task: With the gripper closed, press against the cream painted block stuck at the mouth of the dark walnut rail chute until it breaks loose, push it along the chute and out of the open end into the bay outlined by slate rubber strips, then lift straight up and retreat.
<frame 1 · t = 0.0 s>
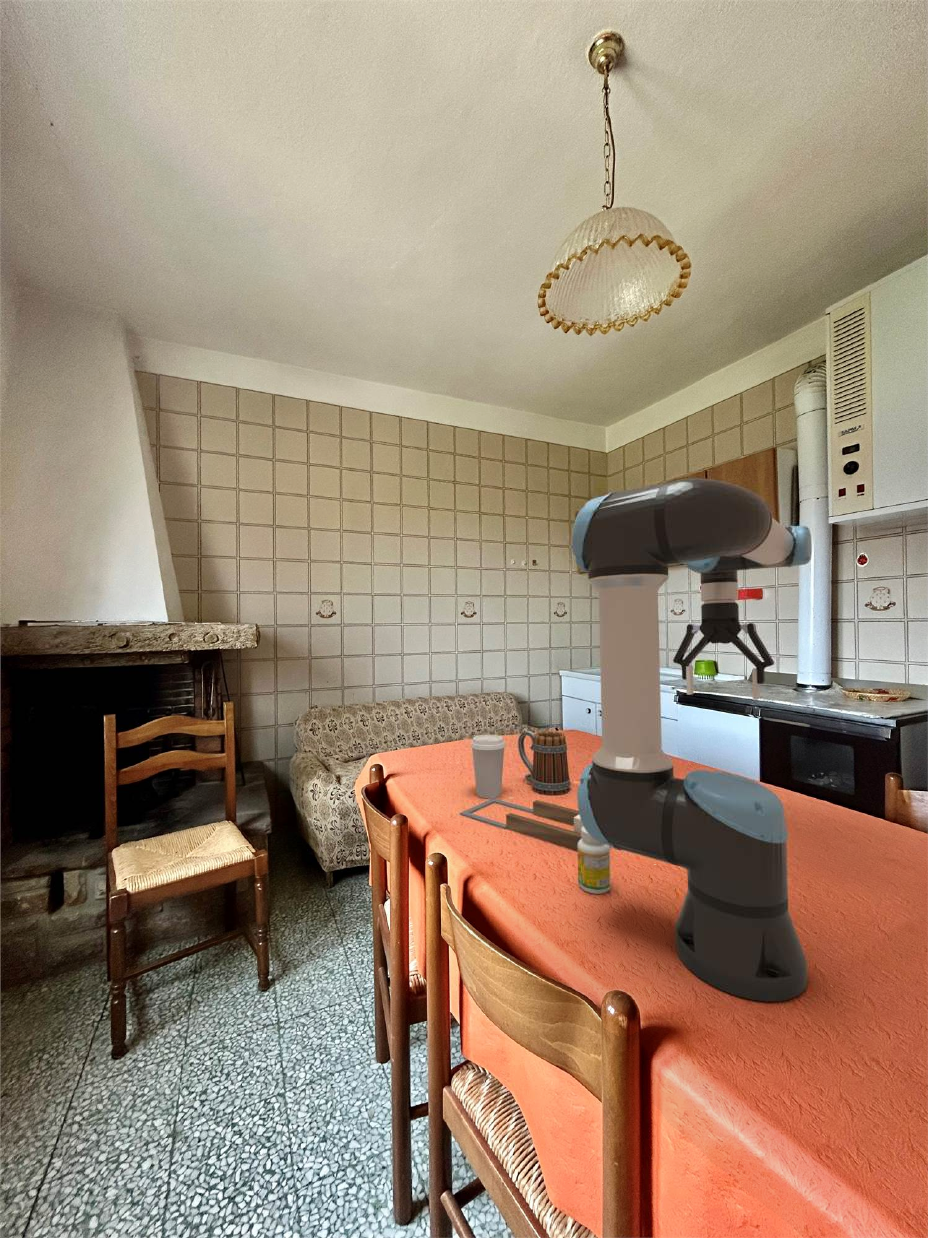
hand: (722, 696, 111), 28 cm above the table, fingers open, 13 cm apart
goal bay: (501, 814, 117), on the table
supplement bottle: (594, 887, 84), on the table
block: (594, 829, 101), point 3 cm above the table, slide at 0.0 cm
mug: (543, 788, 136), on the table
coffee cup: (488, 795, 131), on the table
chute: (564, 833, 106), on the table
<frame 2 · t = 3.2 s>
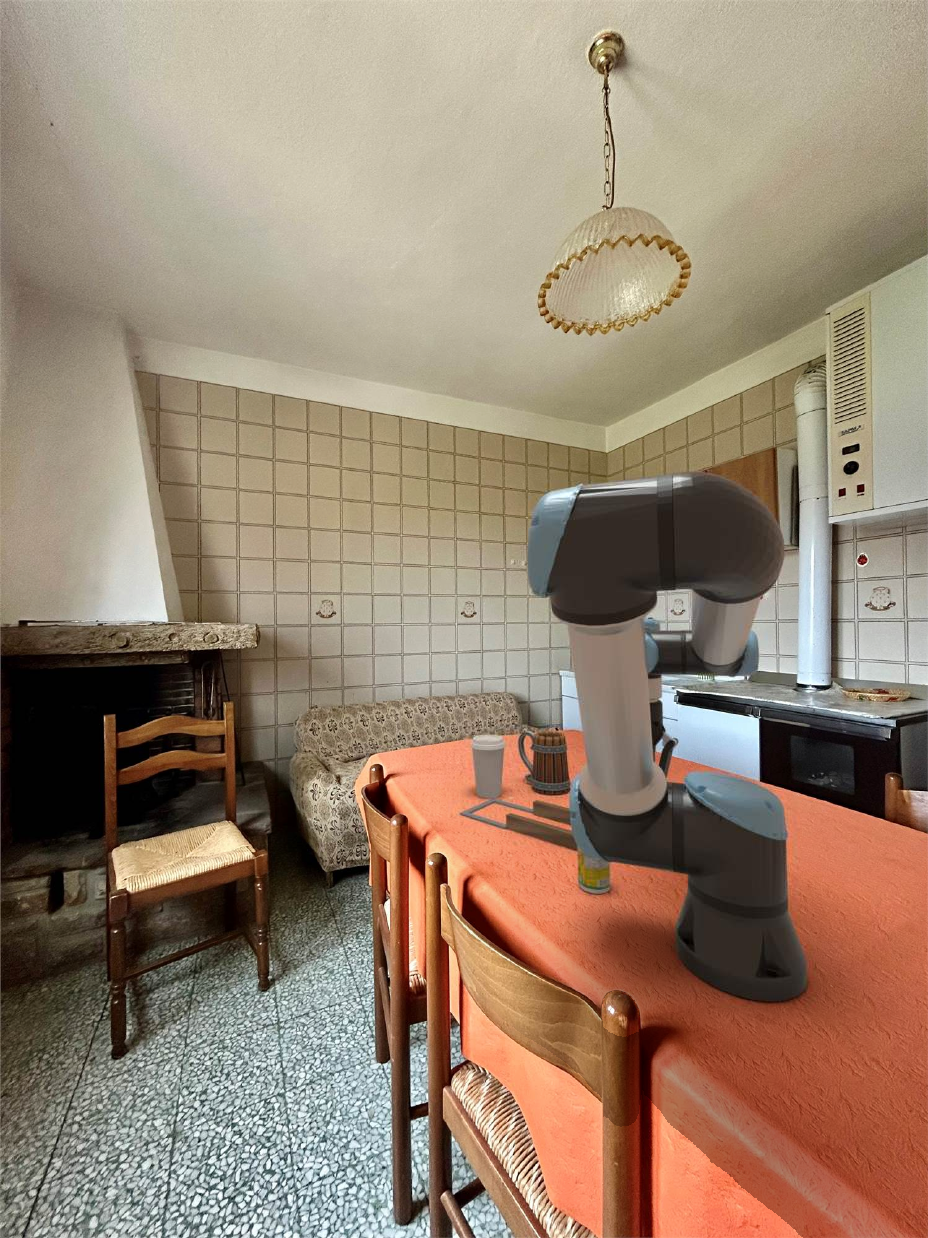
hand: (644, 821, 95), 7 cm above the table, fingers closed
nothing on the table moved.
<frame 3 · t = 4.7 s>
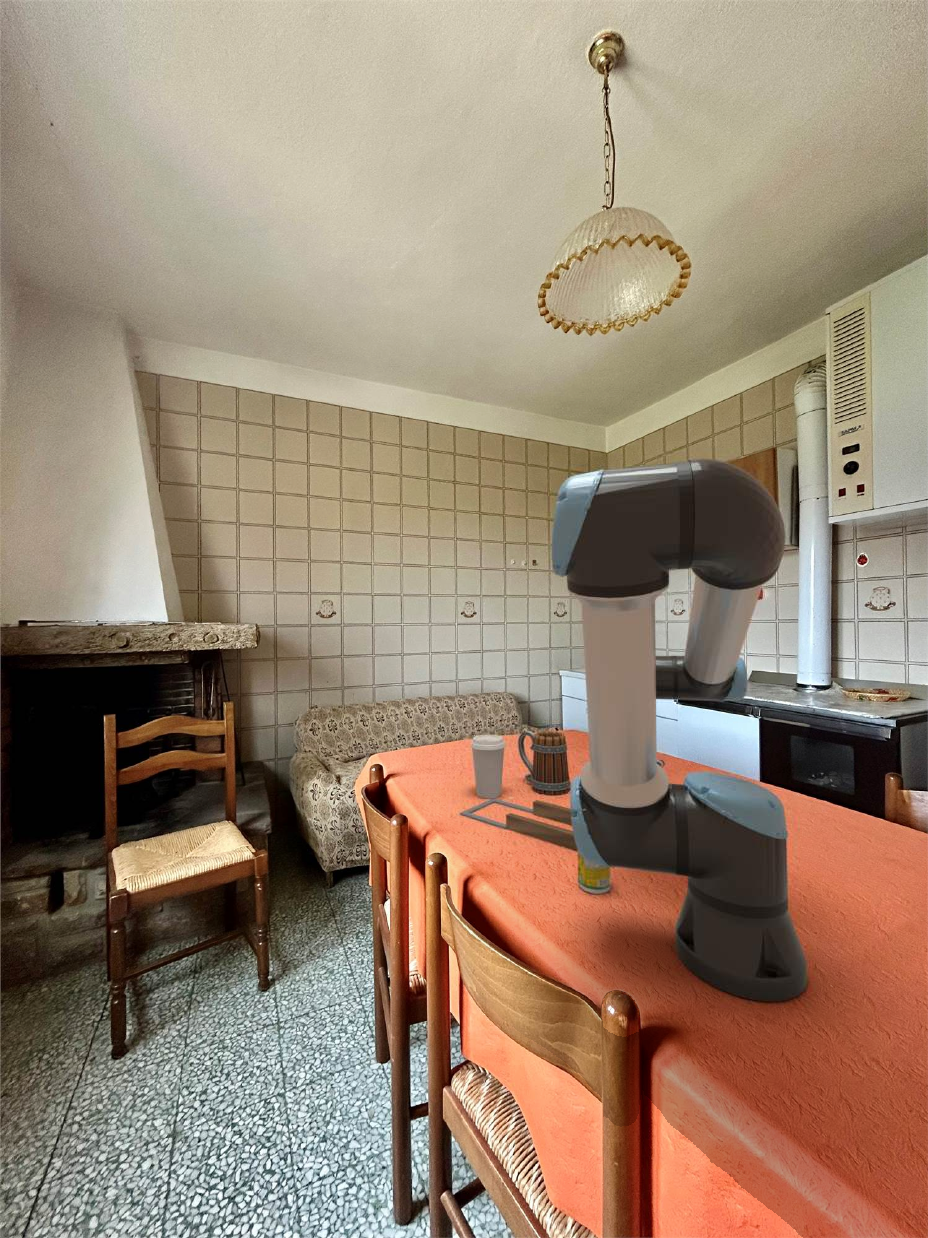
hand: (631, 841, 96), 2 cm above the table, fingers closed
nothing on the table moved.
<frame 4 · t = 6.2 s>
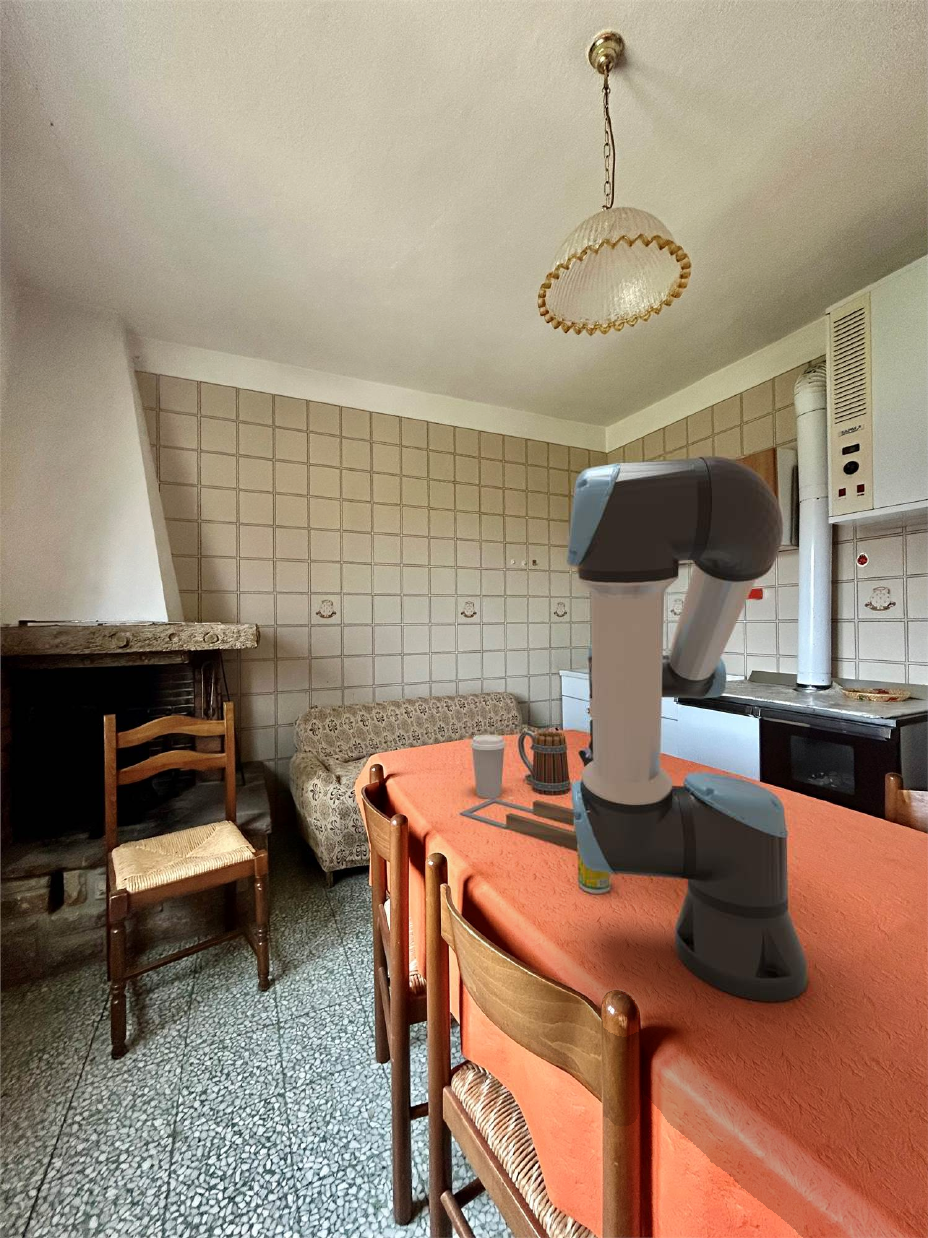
hand: (611, 837, 99), 2 cm above the table, fingers closed
block: (594, 829, 101), point 3 cm above the table, slide at 0.0 cm, touching gripper
everything else where it was.
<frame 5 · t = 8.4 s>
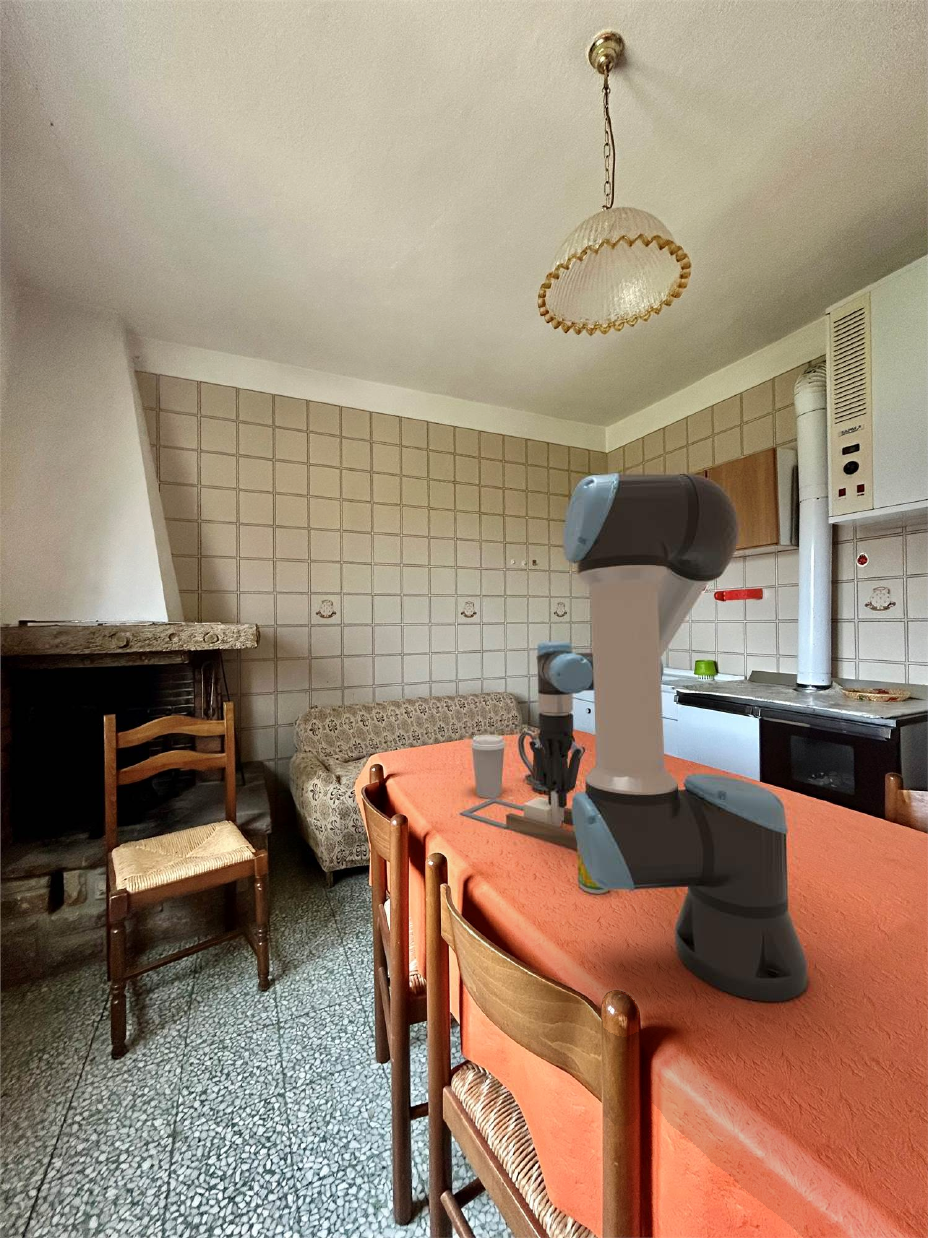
hand: (557, 820, 107), 2 cm above the table, fingers closed
block: (542, 814, 109), point 3 cm above the table, slide at 12.4 cm, touching gripper
everything else where it was.
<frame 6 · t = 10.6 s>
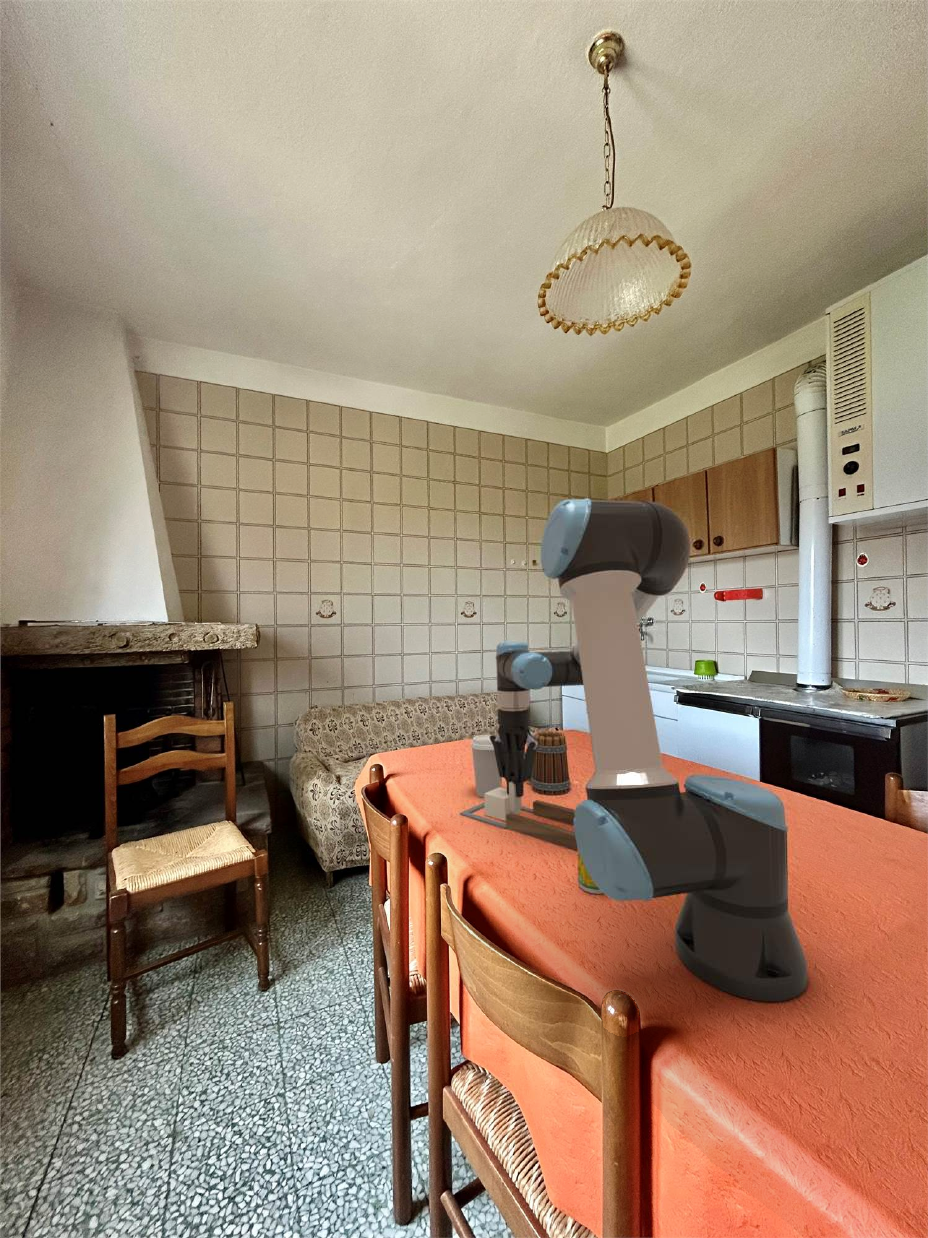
hand: (515, 809, 115), 2 cm above the table, fingers closed
block: (502, 803, 117), point 3 cm above the table, slide at 23.7 cm, touching gripper
everything else where it was.
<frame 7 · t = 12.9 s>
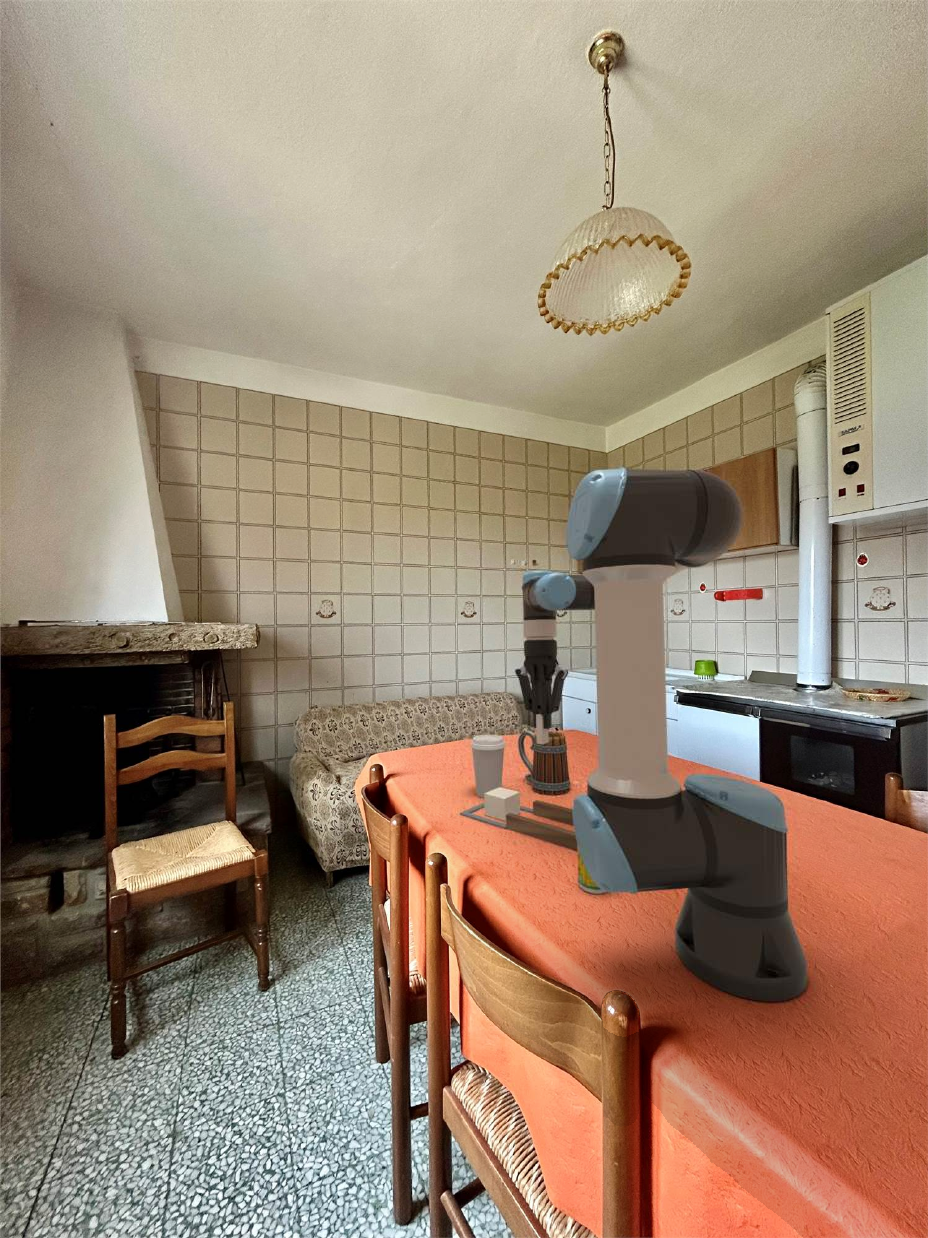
hand: (542, 742, 112), 18 cm above the table, fingers closed
block: (502, 803, 117), point 3 cm above the table, slide at 23.7 cm
everything else where it was.
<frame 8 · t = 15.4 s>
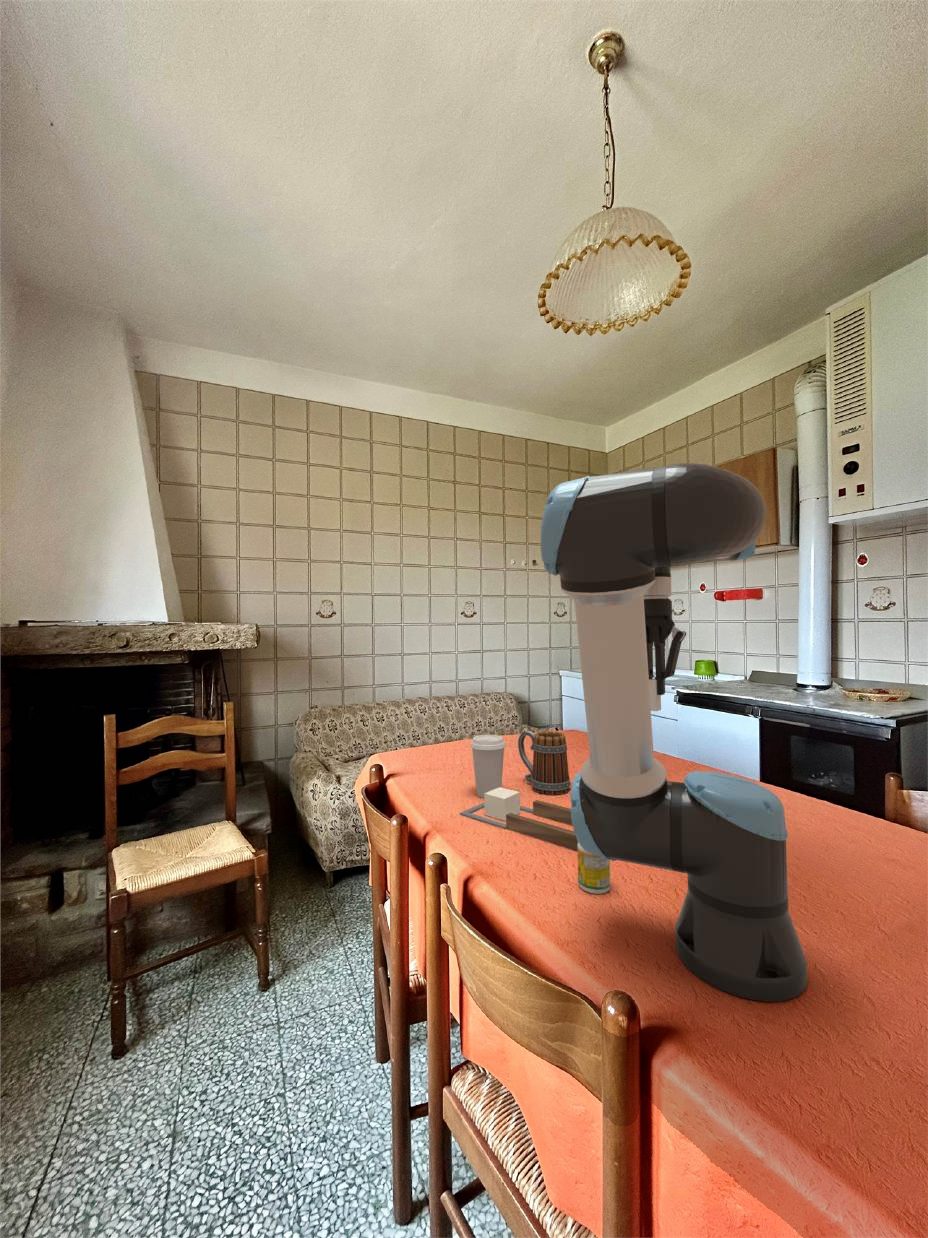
hand: (655, 710, 104), 26 cm above the table, fingers closed
nothing on the table moved.
at the end: block slide at 23.7 cm; the gripper is holding nothing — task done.
